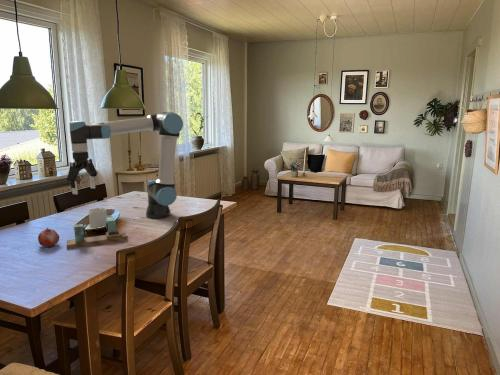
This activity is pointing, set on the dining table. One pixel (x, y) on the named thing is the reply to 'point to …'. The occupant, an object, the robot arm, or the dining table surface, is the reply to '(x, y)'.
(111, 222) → the teal rectangular block
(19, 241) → the dining table surface
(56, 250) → the dining table surface
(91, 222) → the grey rounded block
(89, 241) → the rail
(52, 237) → the fruit
